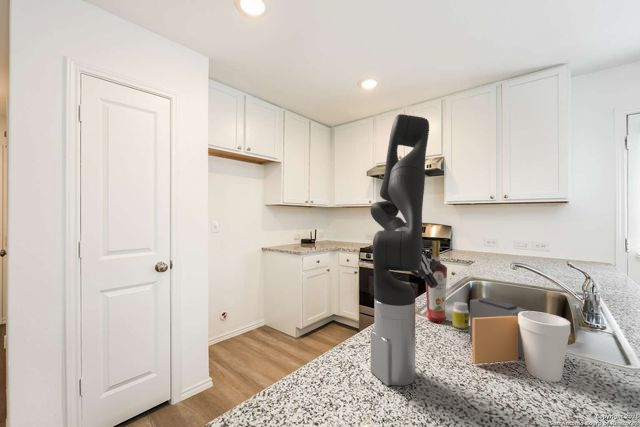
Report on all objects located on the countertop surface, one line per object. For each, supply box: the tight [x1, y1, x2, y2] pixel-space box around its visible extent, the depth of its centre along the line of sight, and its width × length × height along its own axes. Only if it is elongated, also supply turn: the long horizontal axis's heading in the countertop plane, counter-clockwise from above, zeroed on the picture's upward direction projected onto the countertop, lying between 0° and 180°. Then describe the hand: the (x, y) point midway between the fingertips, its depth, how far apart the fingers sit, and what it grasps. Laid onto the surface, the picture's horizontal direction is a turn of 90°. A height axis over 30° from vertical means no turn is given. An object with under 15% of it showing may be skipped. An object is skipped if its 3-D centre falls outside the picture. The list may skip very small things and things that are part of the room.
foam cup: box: [518, 310, 571, 383], centre depth 64 cm, size 10×9×13 cm
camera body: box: [469, 297, 528, 359], centre depth 77 cm, size 6×12×13 cm, turn 25°
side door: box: [471, 316, 519, 365], centre depth 68 cm, size 1×12×11 cm, turn 99°
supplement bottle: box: [452, 301, 470, 333], centre depth 89 cm, size 5×5×8 cm
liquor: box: [425, 240, 448, 323], centre depth 97 cm, size 7×7×28 cm
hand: (434, 286), depth 83 cm, fingers closed
